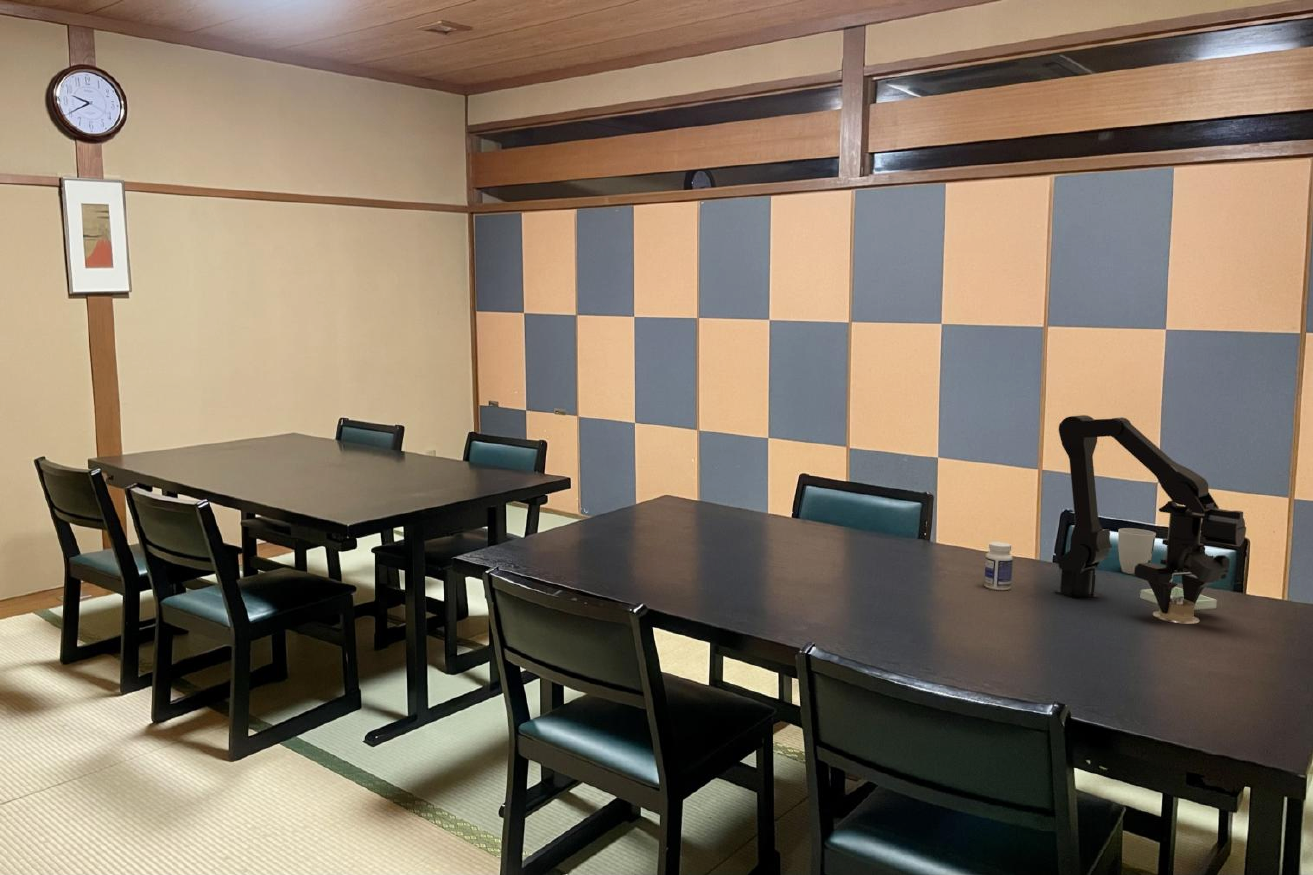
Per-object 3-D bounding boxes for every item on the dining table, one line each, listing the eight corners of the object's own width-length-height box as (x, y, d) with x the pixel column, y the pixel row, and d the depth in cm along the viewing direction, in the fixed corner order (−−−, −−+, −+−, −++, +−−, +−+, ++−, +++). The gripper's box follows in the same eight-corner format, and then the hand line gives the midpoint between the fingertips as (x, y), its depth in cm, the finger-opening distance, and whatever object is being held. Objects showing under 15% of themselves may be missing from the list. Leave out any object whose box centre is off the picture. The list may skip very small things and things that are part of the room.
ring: (1176, 622, 196) (1178, 606, 196) (1152, 613, 202) (1154, 598, 201) (1199, 620, 198) (1201, 604, 198) (1175, 611, 204) (1176, 596, 203)
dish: (1178, 613, 204) (1179, 603, 204) (1139, 599, 213) (1140, 589, 213) (1215, 610, 207) (1216, 599, 207) (1175, 596, 217) (1176, 587, 217)
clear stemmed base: (1177, 626, 195) (1179, 604, 194) (1143, 614, 202) (1145, 592, 202) (1209, 623, 197) (1211, 601, 197) (1174, 611, 205) (1176, 590, 205)
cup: (1156, 577, 233) (1160, 536, 232) (1119, 574, 235) (1123, 533, 234) (1146, 569, 241) (1150, 529, 240) (1111, 566, 243) (1114, 527, 242)
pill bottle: (1011, 586, 222) (1015, 543, 220) (1009, 592, 216) (1012, 548, 215) (985, 582, 224) (988, 539, 223) (982, 588, 219) (985, 544, 218)
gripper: (1181, 548, 187) (1173, 627, 189) (1254, 543, 193) (1245, 620, 195) (1135, 535, 198) (1128, 610, 200) (1205, 531, 204) (1198, 604, 206)
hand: (1176, 612), depth 200 cm, fingers closed on ring, 6 cm apart
